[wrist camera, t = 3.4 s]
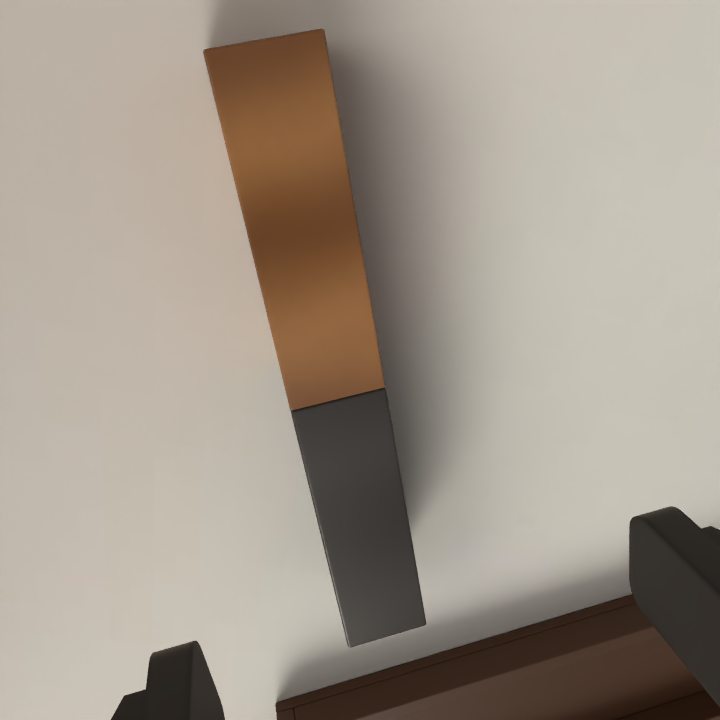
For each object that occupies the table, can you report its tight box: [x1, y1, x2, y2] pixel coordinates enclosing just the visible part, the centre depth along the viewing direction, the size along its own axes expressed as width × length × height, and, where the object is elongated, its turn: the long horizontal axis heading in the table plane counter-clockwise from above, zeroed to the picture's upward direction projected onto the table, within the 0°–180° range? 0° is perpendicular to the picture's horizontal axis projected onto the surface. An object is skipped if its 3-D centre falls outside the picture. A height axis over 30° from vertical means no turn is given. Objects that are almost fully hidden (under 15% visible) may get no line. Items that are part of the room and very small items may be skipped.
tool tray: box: [276, 595, 720, 720], centre depth 31 cm, size 25×9×2 cm, turn 99°
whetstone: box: [203, 29, 426, 647], centre depth 21 cm, size 20×3×4 cm, turn 9°
